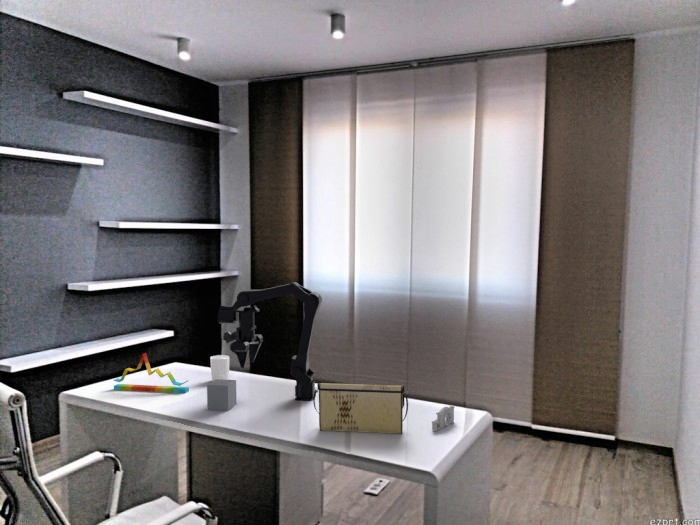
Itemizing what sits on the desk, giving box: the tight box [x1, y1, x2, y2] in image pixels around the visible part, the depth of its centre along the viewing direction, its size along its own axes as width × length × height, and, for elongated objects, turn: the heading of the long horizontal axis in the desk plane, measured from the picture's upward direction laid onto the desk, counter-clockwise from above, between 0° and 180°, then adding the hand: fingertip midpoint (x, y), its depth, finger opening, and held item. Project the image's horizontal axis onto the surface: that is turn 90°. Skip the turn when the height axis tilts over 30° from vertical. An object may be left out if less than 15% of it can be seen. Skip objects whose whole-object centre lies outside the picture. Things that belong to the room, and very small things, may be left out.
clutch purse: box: [312, 382, 409, 435], centre depth 178 cm, size 30×7×15 cm, turn 82°
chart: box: [113, 352, 190, 394], centre depth 224 cm, size 30×3×15 cm, turn 80°
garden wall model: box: [431, 404, 455, 432], centre depth 180 cm, size 12×2×6 cm, turn 141°
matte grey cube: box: [206, 379, 238, 412], centre depth 202 cm, size 8×8×9 cm
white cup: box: [209, 354, 230, 382], centre depth 238 cm, size 8×8×10 cm
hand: (247, 365), depth 214 cm, fingers open, 9 cm apart
